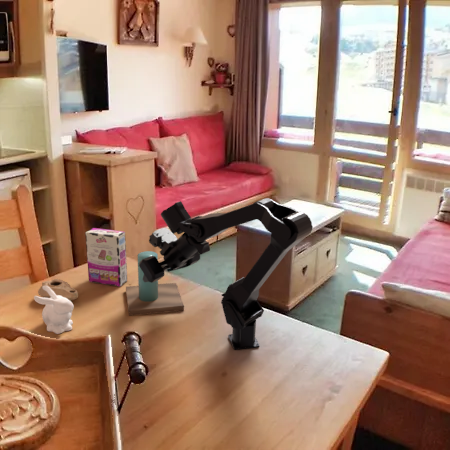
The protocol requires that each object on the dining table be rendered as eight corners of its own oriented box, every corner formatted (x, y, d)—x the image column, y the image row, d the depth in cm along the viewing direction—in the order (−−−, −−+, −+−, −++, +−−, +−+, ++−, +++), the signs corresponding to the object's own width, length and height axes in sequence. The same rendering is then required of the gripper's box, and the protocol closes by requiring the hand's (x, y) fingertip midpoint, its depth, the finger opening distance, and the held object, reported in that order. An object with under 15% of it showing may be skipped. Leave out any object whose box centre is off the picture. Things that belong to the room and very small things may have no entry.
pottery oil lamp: (67, 310, 141) (52, 290, 138) (44, 310, 149) (30, 291, 146) (88, 288, 147) (74, 269, 144) (65, 290, 155) (51, 272, 152)
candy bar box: (128, 280, 160) (126, 231, 155) (120, 287, 156) (118, 236, 151) (96, 275, 164) (93, 226, 158) (87, 282, 159) (84, 231, 154)
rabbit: (78, 333, 130) (75, 290, 127) (39, 341, 126) (34, 297, 123) (69, 312, 141) (66, 272, 137) (33, 319, 137) (28, 278, 133)
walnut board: (183, 310, 143) (183, 305, 143) (129, 315, 140) (128, 310, 139) (175, 287, 157) (175, 282, 156) (126, 291, 154) (125, 286, 153)
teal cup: (153, 302, 144) (152, 260, 139) (135, 299, 145) (134, 257, 141) (161, 294, 149) (160, 252, 144) (143, 291, 150) (142, 250, 146)
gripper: (192, 213, 141) (164, 242, 151) (142, 230, 127) (115, 261, 137) (214, 247, 139) (184, 273, 149) (166, 268, 125) (136, 296, 135)
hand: (155, 275), depth 143 cm, fingers open, 9 cm apart
